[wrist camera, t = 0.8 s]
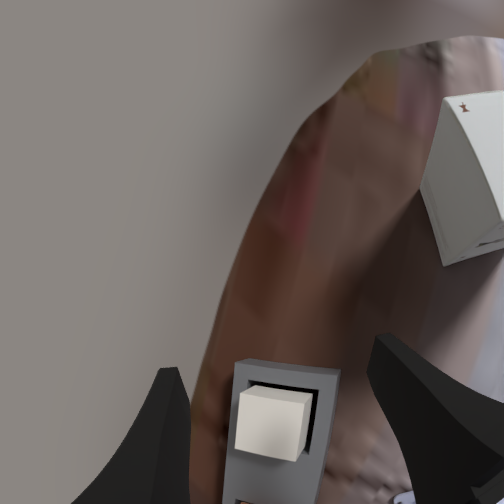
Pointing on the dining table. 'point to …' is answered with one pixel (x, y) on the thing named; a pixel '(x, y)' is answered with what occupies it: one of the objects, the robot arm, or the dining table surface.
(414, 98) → the dining table surface
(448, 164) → the supplement box
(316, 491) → the button console
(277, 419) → the white button
